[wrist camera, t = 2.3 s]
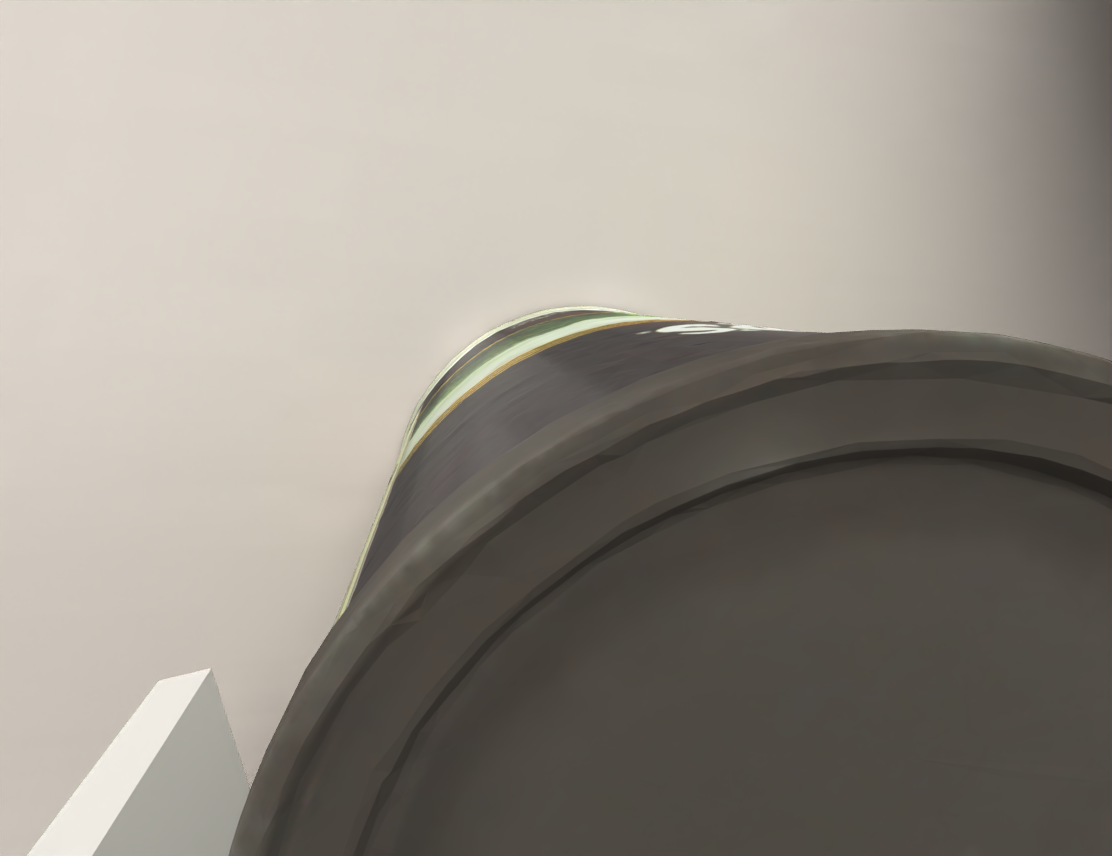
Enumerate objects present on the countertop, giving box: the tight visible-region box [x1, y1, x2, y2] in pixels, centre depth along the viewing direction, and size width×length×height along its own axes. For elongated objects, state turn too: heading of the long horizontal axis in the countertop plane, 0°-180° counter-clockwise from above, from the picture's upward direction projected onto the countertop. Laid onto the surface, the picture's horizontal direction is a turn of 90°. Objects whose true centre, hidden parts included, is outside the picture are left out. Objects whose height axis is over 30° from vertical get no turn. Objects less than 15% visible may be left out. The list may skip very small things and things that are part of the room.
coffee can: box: [229, 306, 1112, 856], centre depth 12 cm, size 10×10×14 cm
